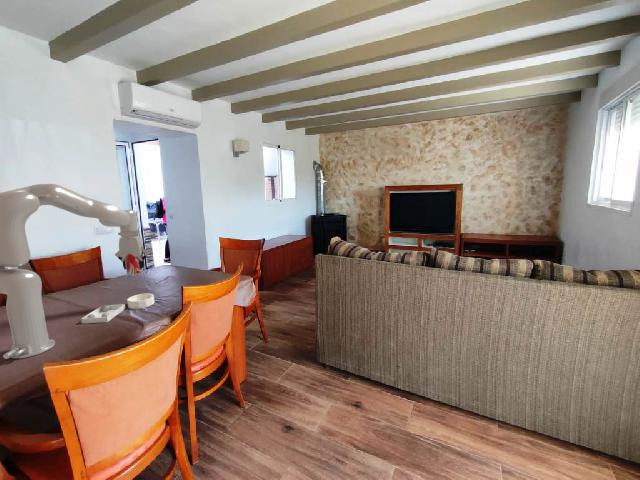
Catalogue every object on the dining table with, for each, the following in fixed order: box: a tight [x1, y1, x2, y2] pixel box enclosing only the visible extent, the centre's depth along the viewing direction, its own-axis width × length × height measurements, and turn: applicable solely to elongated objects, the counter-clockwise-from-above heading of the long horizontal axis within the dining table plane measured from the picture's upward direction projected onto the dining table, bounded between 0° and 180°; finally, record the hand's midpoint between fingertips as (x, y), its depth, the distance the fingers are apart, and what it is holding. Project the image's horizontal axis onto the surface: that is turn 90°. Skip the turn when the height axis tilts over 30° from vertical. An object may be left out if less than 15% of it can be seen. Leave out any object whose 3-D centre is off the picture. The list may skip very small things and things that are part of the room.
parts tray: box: [80, 303, 126, 325], centre depth 144 cm, size 16×11×2 cm
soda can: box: [125, 254, 143, 276], centre depth 153 cm, size 7×7×12 cm
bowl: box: [126, 292, 155, 310], centre depth 158 cm, size 12×12×4 cm
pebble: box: [102, 304, 110, 311], centre depth 149 cm, size 3×3×3 cm
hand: (134, 268), depth 154 cm, fingers closed on soda can, 7 cm apart
